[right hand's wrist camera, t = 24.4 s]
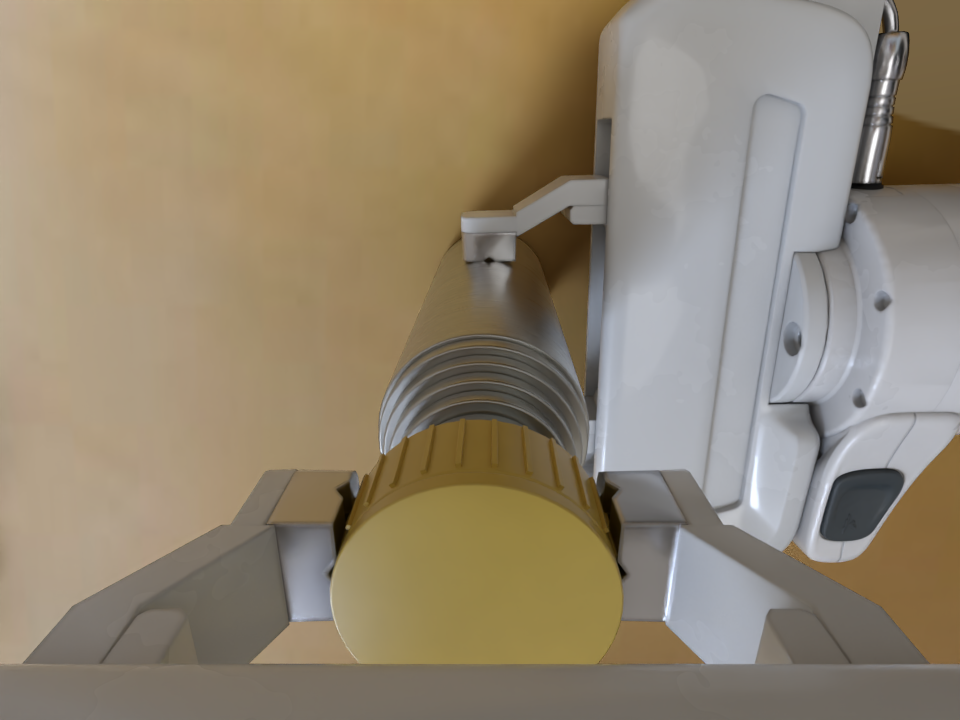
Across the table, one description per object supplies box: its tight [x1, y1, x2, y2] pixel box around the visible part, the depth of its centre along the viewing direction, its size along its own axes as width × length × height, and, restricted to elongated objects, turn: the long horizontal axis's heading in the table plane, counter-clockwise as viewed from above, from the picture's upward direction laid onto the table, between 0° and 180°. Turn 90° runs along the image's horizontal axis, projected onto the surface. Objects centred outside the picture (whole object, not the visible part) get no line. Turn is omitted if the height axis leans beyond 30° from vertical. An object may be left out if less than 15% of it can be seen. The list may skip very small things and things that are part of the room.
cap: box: [330, 418, 624, 664], centre depth 9 cm, size 4×4×2 cm
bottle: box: [378, 237, 589, 467], centre depth 18 cm, size 5×5×18 cm
